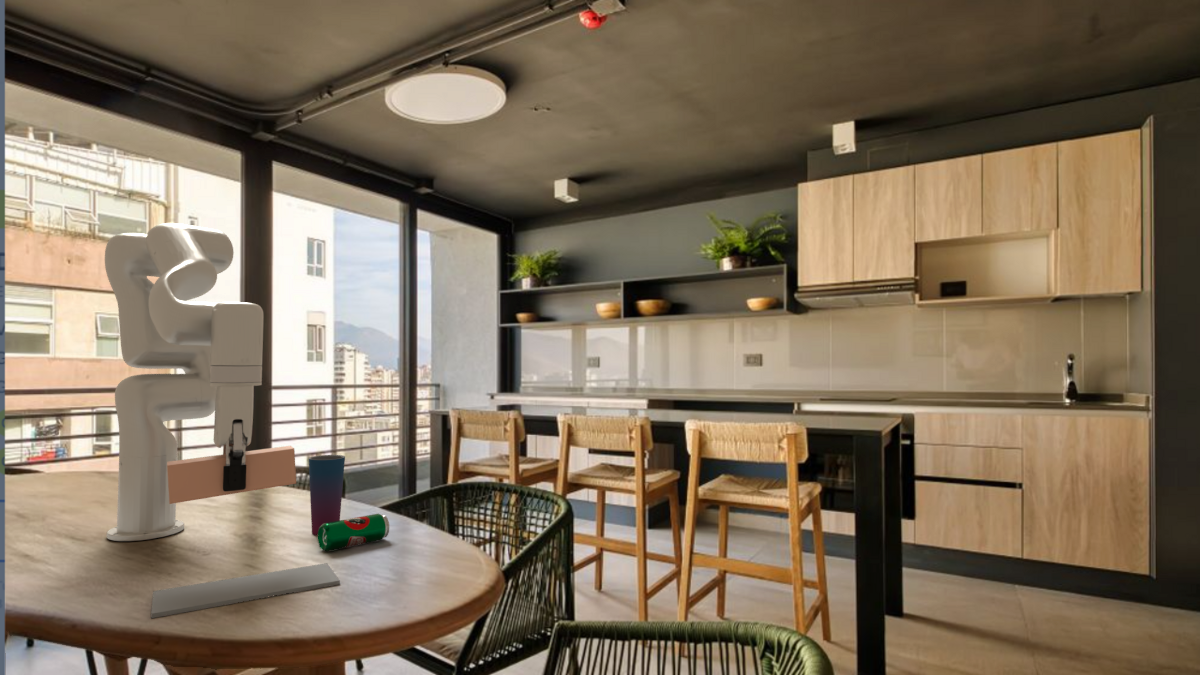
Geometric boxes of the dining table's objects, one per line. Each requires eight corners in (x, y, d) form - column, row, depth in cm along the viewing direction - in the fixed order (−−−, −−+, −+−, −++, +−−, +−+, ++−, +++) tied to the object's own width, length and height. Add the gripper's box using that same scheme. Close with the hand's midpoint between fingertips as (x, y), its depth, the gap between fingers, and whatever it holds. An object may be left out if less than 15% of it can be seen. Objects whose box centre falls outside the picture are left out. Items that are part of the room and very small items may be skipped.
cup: (333, 525, 134) (334, 453, 134) (350, 531, 129) (351, 457, 130) (300, 532, 128) (302, 457, 129) (317, 538, 124) (319, 461, 125)
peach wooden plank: (169, 499, 102) (167, 461, 102) (292, 479, 113) (290, 445, 112) (169, 504, 99) (167, 465, 99) (296, 483, 109) (294, 448, 109)
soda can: (330, 547, 113) (392, 534, 122) (325, 519, 115) (387, 509, 124) (319, 555, 116) (381, 542, 125) (314, 528, 118) (375, 517, 127)
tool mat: (153, 595, 94) (153, 591, 94) (326, 566, 108) (327, 563, 108) (151, 618, 86) (151, 613, 86) (339, 584, 99) (339, 580, 99)
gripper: (207, 375, 111) (203, 481, 111) (212, 378, 97) (209, 500, 97) (255, 374, 115) (253, 477, 115) (268, 378, 101) (264, 494, 101)
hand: (233, 486), depth 106 cm, fingers closed on peach wooden plank, 4 cm apart
